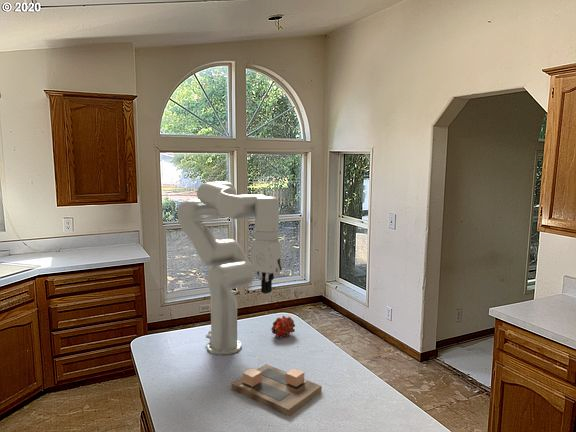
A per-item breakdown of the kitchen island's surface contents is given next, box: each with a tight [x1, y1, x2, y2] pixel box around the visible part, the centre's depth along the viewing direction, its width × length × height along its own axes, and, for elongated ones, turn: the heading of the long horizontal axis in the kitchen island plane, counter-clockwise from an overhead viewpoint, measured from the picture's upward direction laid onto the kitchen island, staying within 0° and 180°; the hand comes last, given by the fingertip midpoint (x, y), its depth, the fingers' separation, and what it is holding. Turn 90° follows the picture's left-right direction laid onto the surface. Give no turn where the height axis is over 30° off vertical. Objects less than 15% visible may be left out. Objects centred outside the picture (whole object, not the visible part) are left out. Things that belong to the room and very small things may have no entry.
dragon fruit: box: [270, 315, 296, 339], centre depth 171 cm, size 8×8×12 cm
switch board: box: [230, 364, 322, 417], centre depth 130 cm, size 22×16×2 cm
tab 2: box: [286, 368, 305, 387], centre depth 130 cm, size 4×4×3 cm
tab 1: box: [242, 367, 262, 387], centre depth 130 cm, size 4×4×3 cm
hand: (266, 292), depth 138 cm, fingers closed
